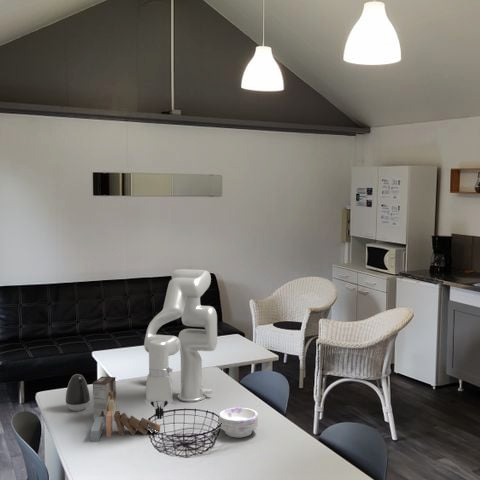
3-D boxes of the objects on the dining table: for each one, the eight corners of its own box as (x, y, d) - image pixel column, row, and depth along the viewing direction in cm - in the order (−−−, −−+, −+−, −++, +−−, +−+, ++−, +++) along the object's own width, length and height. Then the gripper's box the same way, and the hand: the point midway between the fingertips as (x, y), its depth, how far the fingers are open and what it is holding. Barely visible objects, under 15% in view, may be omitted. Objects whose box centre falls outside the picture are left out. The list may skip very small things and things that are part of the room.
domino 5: (160, 425, 239) (142, 417, 238) (160, 430, 235) (141, 422, 234) (158, 429, 240) (140, 421, 239) (158, 434, 235) (139, 426, 234)
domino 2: (125, 429, 238) (119, 410, 238) (123, 434, 233) (117, 415, 233) (121, 430, 238) (115, 411, 237) (119, 435, 233) (113, 416, 233)
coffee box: (102, 412, 257) (101, 375, 256) (116, 413, 256) (116, 376, 254) (93, 420, 248) (92, 382, 247) (107, 422, 247) (107, 383, 246)
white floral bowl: (238, 422, 247) (238, 403, 246) (266, 433, 236) (266, 413, 235) (210, 433, 236) (210, 413, 235) (238, 444, 225) (238, 424, 224)
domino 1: (112, 430, 238) (112, 410, 237) (110, 435, 233) (110, 415, 232) (108, 430, 238) (107, 411, 237) (106, 436, 233) (106, 415, 232)
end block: (104, 426, 242) (103, 416, 242) (98, 441, 228) (98, 430, 228) (96, 426, 242) (96, 417, 242) (90, 441, 228) (90, 431, 228)
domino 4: (148, 426, 239) (131, 415, 238) (147, 431, 234) (130, 420, 233) (145, 429, 239) (129, 418, 238) (145, 434, 234) (128, 423, 233)
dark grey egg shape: (72, 415, 255) (71, 379, 253) (61, 408, 262) (60, 374, 261) (94, 409, 261) (93, 374, 260) (83, 402, 269) (82, 369, 268)
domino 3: (136, 427, 239) (123, 412, 238) (135, 432, 234) (122, 417, 233) (133, 430, 239) (120, 415, 238) (132, 435, 234) (119, 419, 233)
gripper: (178, 368, 239) (178, 413, 241) (140, 369, 238) (140, 414, 240) (178, 374, 232) (178, 420, 234) (138, 375, 231) (139, 422, 232)
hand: (159, 417), depth 237 cm, fingers closed
